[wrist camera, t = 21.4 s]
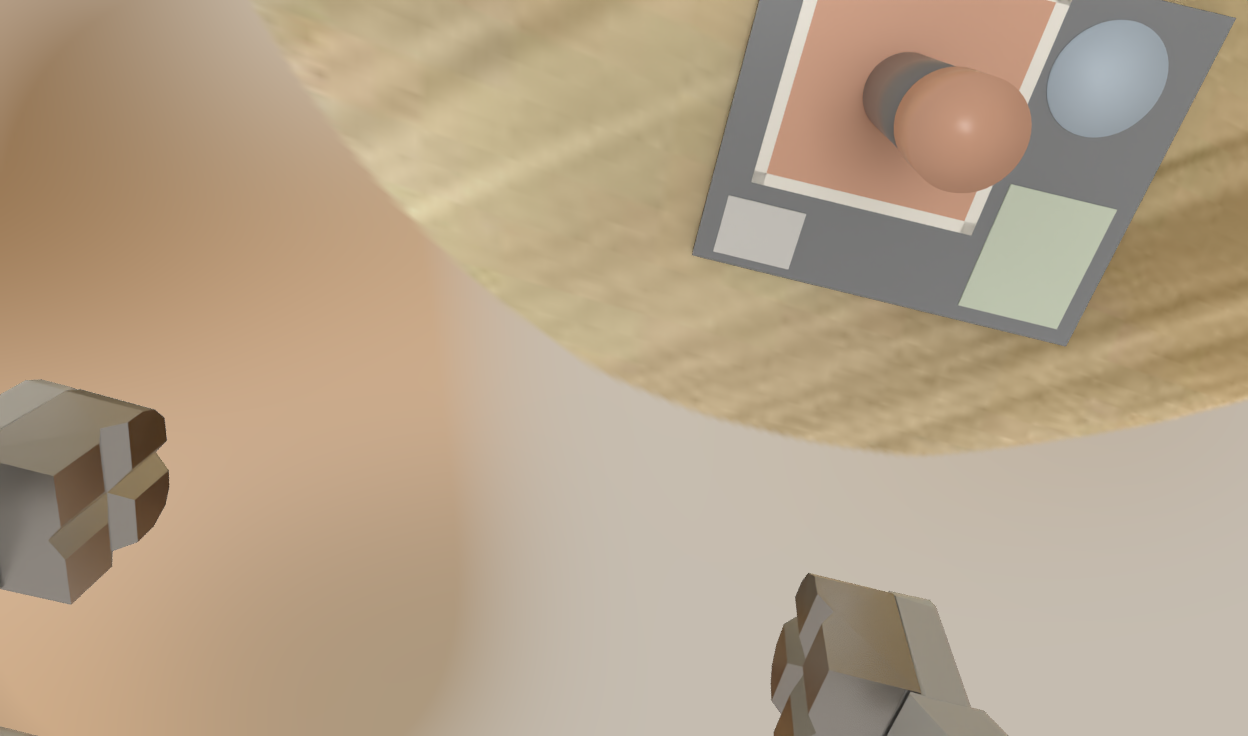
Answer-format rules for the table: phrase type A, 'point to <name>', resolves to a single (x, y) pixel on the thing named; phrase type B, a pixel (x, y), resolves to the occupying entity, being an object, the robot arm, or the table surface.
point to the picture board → (914, 209)
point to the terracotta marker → (949, 120)
